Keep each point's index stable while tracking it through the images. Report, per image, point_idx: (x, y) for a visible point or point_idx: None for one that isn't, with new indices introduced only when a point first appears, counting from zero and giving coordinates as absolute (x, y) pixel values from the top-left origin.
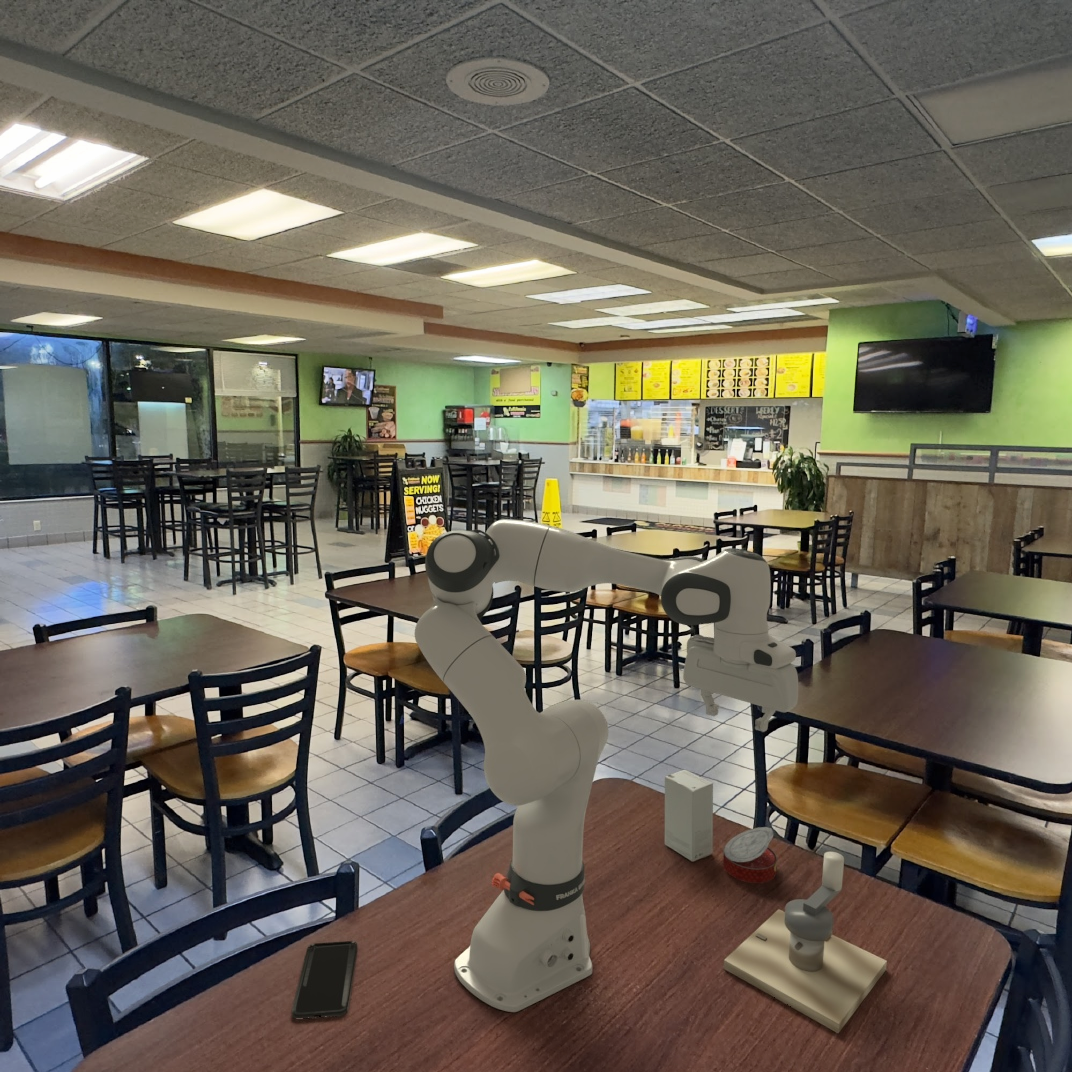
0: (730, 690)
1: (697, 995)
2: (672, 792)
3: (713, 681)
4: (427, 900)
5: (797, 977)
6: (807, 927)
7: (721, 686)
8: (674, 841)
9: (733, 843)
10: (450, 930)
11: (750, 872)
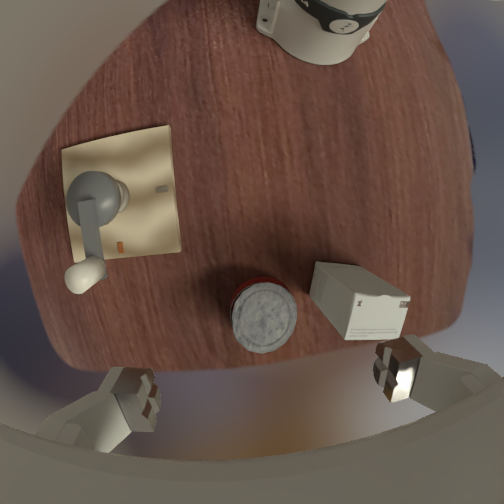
0: (325, 496)
1: (167, 80)
2: (386, 288)
3: (500, 454)
4: (419, 25)
5: (106, 167)
6: (78, 175)
7: (426, 475)
8: (349, 266)
9: (288, 313)
10: None
11: (244, 286)
